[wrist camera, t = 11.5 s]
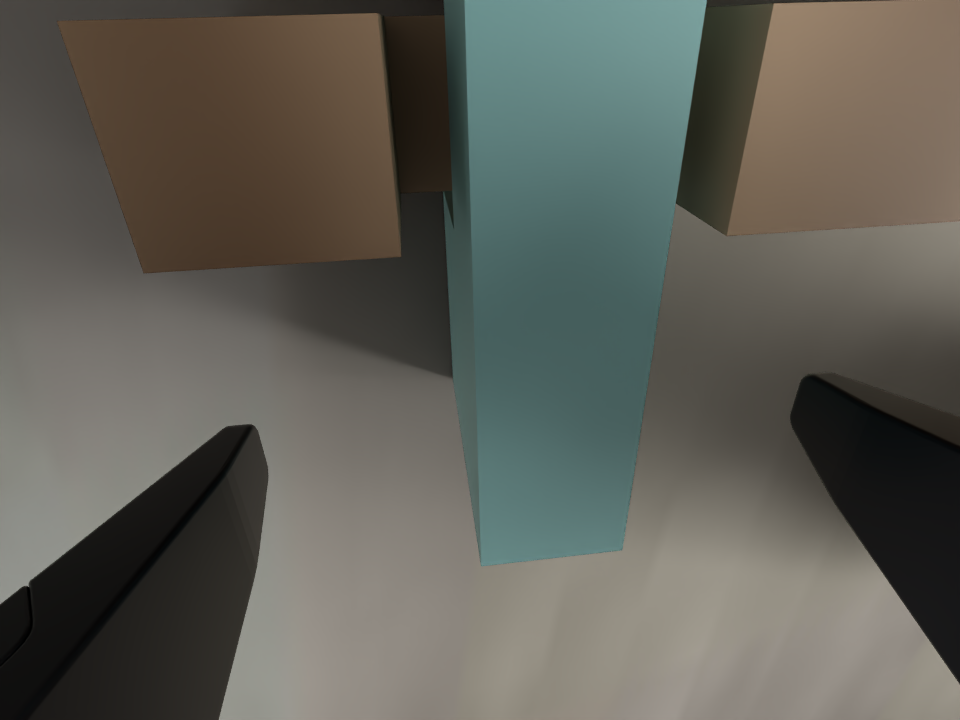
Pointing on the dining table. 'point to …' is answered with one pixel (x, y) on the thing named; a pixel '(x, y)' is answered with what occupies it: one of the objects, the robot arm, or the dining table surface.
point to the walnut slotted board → (426, 133)
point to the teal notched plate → (559, 253)
